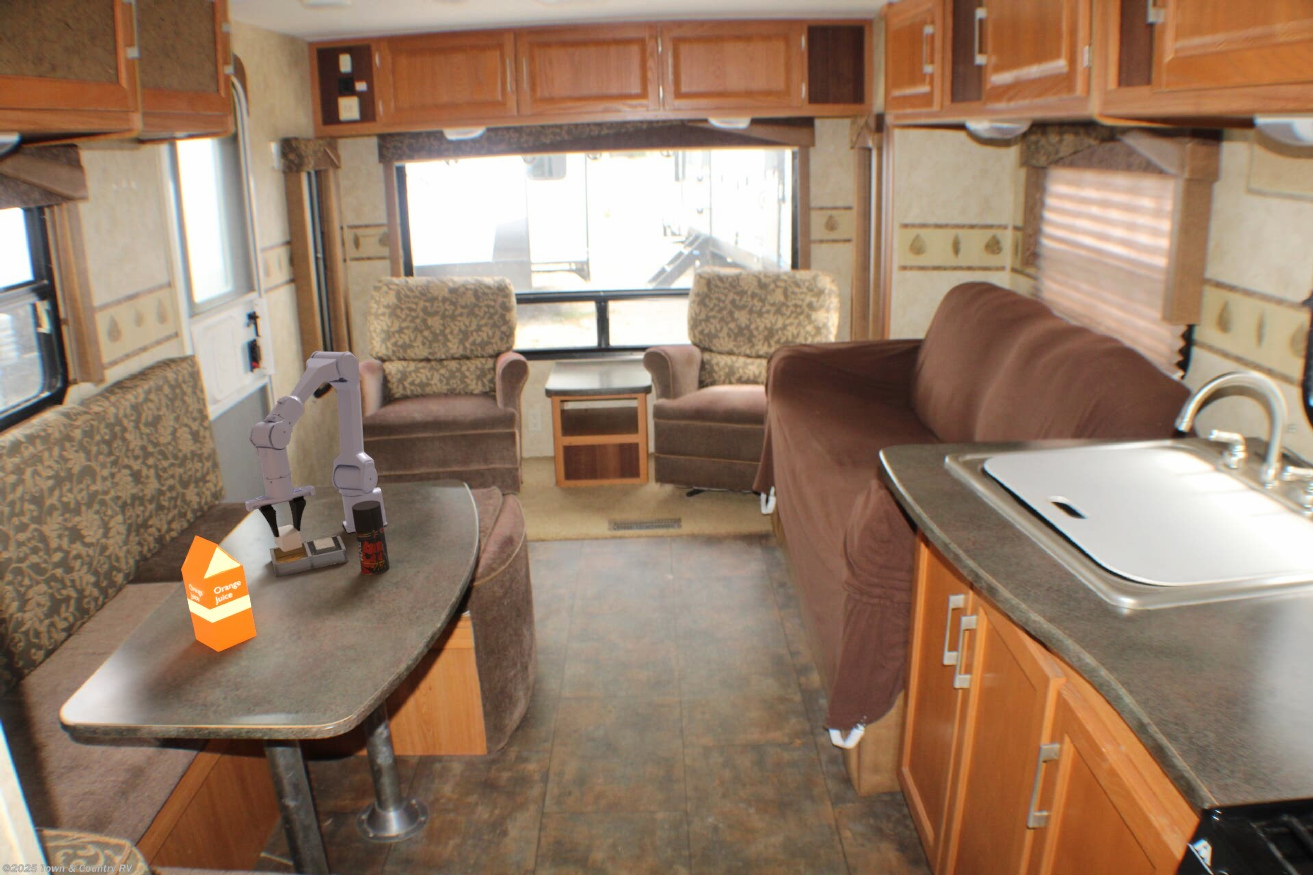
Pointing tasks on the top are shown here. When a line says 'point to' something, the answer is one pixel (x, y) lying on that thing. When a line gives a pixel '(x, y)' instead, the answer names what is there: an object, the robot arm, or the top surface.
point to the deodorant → (370, 537)
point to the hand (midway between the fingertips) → (287, 533)
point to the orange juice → (217, 596)
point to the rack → (309, 555)
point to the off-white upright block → (288, 538)
